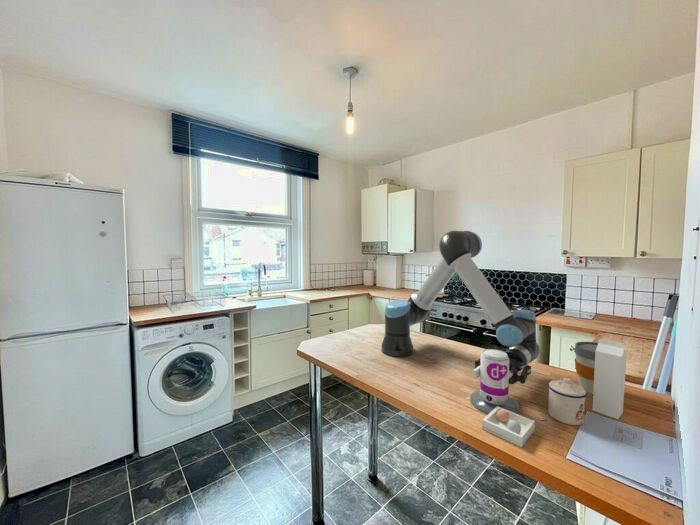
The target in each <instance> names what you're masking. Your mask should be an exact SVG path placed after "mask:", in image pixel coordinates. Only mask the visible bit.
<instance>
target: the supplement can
mask: <svg viewBox="0 0 700 525" xmlns="http://www.w3.org/2000/svg"><path fill="white" fill-rule="evenodd" d="M479 359H480V376H479V391H480V396H481V397H482V398H483V399H484V400H485V401H487V402H488V403H491V404H496V405H502V404H505V403H506V402H507V401H508V396H509V392H510V391H509V386H510V385H509V386H507V387H506V388H505V389H502V379H503V378H504V377H506V376H507V375H508V374H509V373H510V371H509V358H508V356H507V354H506V353H505V351H503V350H500V349H495V348H494V349H493V348H487V349H486V348H485V349H483V350H482V353H481V354H480V358H479Z"/></svg>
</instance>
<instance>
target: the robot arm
mask: <svg viewBox="0 0 700 525" xmlns="http://www.w3.org/2000/svg"><path fill="white" fill-rule="evenodd" d="M482 248H483V242H482V239H481V237H480V236H479V235H478V234H477V233H476V232H473V231H470V230H450V231H447V232H446V233H445V234H443V236H441V239H440V240H439V252H440V254H441V259H440V260H439V262H438V263H437V264H436V266H435V267H434V269H432V271H431V272H430V274H429V275H428V277H427V278H426V279H425V281H424V283H423V284H422V285H421V287H420V288H419V290H418V291H417V292H414V293H411V295H410V297H409V298H408V300H405V299H404V300H403V299H397V300H391V301H388V302H387V303H386V304H385V308H384V337H383V340H382V344H381V352H382V353H383V354H385V355H387V356H390V357H397V358H398V357H400V358H402V357H407V356H411V355H412V354H414V352H415V351H414V349H415V348H414V345H413V340H412V338H411V327H412V326H414V325H417V324H421V323H423V322H425V321H426V320H428V319H429V318H430V316H431V314H432V309H433V302H434V301H435V300H436V299H437V297H438V296H439V295H440V294H441V292H442V291H443V289H444V288H445V287H446V286H447V284H448V283H449V281H450V280H451V279H452V278H453V276H455V274H457V276H458V277H459V279H460V280H461V281H462V283H463V284H464V286H465V287H466V288H467V289H468V291H469V292H470V294H471V296H472V297H473V298H474V300H475V301H476V302H477V304H478V305H479V307H480V308H481V310H482V311H483V312H484V314H485V315H486V316H487V319H489V321H490V322H491V323H492V325H493V327H494V329H495V330H496V332H495V337H496V339H497V341H498V342H499V344H501V345H502V346H504V347H508V349H506V350H505V351H504V352H505V353H506V354H507V356H508V358H509V374H508V375H507V376H506V377H504V378H503V379H502V389H505V388H506V387H507V386H510V385H514V384H515V383H518V382H519V383H520V384H522V385H524V384H526V382H527V379H528V376H530V375H531V373H532V365H529V364H530V363H532V362H533V361H534V360H536V359H537V358H538V356H539V355H540V353H541V349H540V346H539V343H538V342H537V319H536V313H535V311H532V310H529V309H515V310H513V312H511V310H510V309H509V307H508V305H506V303H505V302H504V300H503V299H502V298H501V297H500V295H499V294H498V292H497V291H496V290H495V288H493V286H492V285H491V283H490V281H488V279H487V278H486V276H485V275H484V273H483V272H482V271H481V270H480V268H479V267H478V266H477V264H476V263H475V262H474V261H473V258H475V257H476V256H478V255H479V254H480V252H481V251H482ZM519 372H521V373H520V375H519ZM478 377H479V378H480V358H479V359H477V360H474V368H473V369H472V379H473V380H476V379H477V378H478Z"/></svg>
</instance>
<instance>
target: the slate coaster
mask: <svg viewBox="0 0 700 525" xmlns="http://www.w3.org/2000/svg"><path fill="white" fill-rule="evenodd" d="M469 401H470V404H471V405H472V406H473V407H474V408H475V409H477V410H478V411H479V412H481V413H484V414H486V415H488V414H489V413H490V412H491V411H492V410H494V409H495V408H496V407H497V406H498V407H501V408H503V409H506V410H508V411H511V412H513V413H516V414H518V415H519V413H520V412H519V411H520V405H519V403H518V402H517V401H516V400H515V399H514V398H512V396H511V397H510V396H509V395H508V401H507V402H506V403H505V404H502V405H496V404H491V403H488V402H487V401H485V400H484V399H483V398H482V397H481V396H480V390H477V391H473V392H472V393H471V394H470V396H469Z"/></svg>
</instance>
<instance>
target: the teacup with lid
mask: <svg viewBox="0 0 700 525" xmlns="http://www.w3.org/2000/svg"><path fill="white" fill-rule="evenodd" d="M547 386H548V407H547V408H548V410H547V412H548V414H549V415H550V416H551V417H552V418H553V419H555V420H556V421H558V422H560V423H563V424H566V425H570V426H580V425H583V424H584V423H585V416H586V414H585V412H586V397H587V395H588V394H587V393H588V392H586V391H585V389H584V388H582V387H581V386H579V384H577V383H574V382H573V380H572V379H571V378H569V377H563V379H553V380H550V381H549V383H548V385H547Z"/></svg>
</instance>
